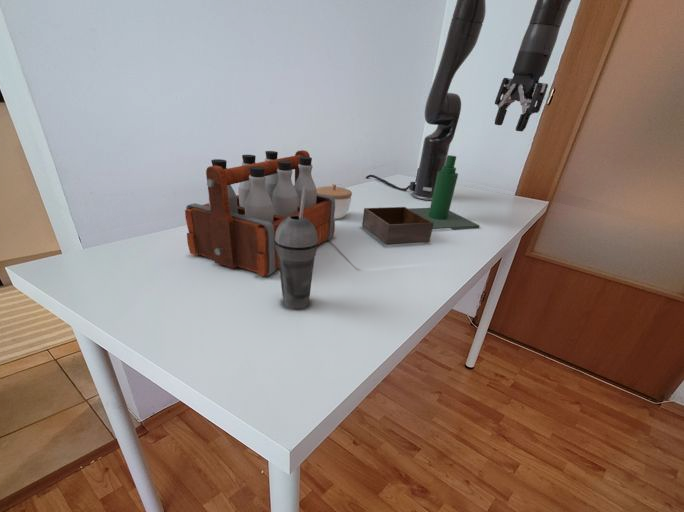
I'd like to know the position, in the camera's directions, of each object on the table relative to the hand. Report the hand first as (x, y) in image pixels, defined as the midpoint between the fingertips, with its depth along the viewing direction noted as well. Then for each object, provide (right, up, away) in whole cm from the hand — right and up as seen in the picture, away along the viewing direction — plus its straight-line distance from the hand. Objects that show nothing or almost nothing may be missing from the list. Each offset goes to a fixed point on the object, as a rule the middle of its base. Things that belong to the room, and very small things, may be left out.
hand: (508, 127), depth 98 cm
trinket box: (-48, -20, +13) cm, 54 cm away
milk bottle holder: (-63, -35, -10) cm, 73 cm away
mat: (-14, -18, +19) cm, 30 cm away
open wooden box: (-30, -28, +3) cm, 42 cm away
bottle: (-14, -17, +18) cm, 29 cm away
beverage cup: (-54, -52, -32) cm, 82 cm away
